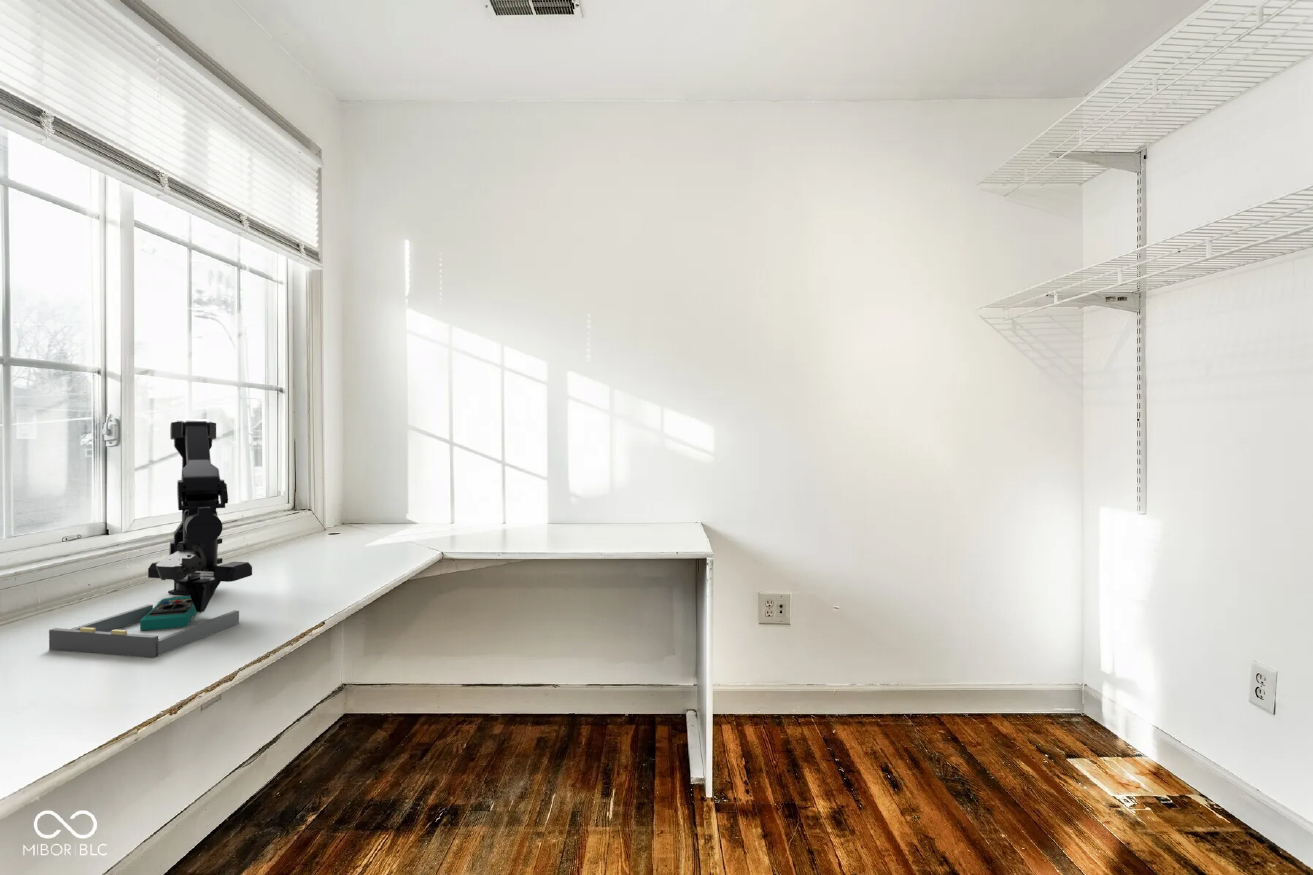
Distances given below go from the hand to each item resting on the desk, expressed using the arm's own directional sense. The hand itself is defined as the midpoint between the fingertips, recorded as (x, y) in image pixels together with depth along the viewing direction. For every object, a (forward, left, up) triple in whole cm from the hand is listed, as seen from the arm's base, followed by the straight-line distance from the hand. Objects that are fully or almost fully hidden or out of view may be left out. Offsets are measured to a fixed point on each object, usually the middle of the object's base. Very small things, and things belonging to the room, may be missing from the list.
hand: (200, 611), depth 134 cm
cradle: (0, -11, -1) cm, 11 cm away
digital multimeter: (-5, -1, -2) cm, 5 cm away
